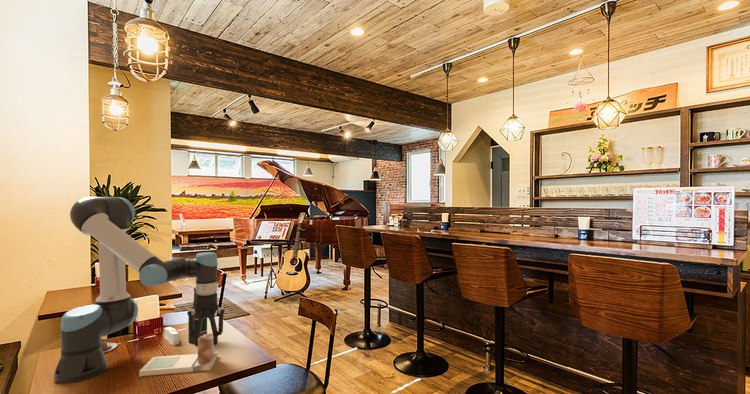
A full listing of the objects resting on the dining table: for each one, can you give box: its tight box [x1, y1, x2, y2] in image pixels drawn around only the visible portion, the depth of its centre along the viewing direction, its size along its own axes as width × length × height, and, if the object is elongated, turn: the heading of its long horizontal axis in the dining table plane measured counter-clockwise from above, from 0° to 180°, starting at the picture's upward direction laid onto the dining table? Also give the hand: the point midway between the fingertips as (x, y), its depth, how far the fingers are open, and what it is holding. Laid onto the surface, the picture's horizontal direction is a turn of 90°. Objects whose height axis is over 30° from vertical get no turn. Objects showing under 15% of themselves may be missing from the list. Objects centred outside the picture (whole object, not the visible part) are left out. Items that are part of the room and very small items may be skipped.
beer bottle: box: [187, 286, 208, 345], centre depth 165 cm, size 8×8×24 cm
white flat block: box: [138, 353, 198, 378], centre depth 139 cm, size 18×12×2 cm, turn 101°
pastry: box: [101, 338, 118, 354], centre depth 155 cm, size 12×12×5 cm
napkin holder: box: [164, 326, 180, 346], centre depth 164 cm, size 15×11×6 cm
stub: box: [193, 333, 219, 372], centre depth 141 cm, size 5×12×10 cm, turn 11°
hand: (206, 353), depth 141 cm, fingers closed on stub, 4 cm apart
